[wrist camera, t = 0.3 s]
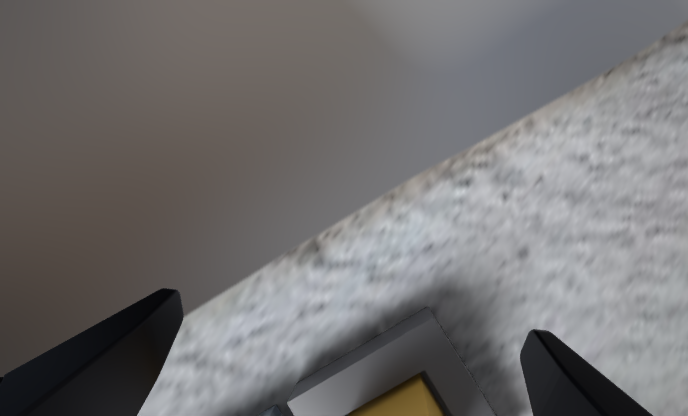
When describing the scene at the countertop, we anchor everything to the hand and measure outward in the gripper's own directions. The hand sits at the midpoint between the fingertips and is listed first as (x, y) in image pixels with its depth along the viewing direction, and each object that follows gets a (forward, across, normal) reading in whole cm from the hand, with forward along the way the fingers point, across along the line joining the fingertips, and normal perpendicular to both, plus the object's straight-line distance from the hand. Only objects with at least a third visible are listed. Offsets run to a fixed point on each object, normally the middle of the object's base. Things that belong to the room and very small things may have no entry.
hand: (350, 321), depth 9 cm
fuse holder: (+8, -4, +15) cm, 17 cm away
